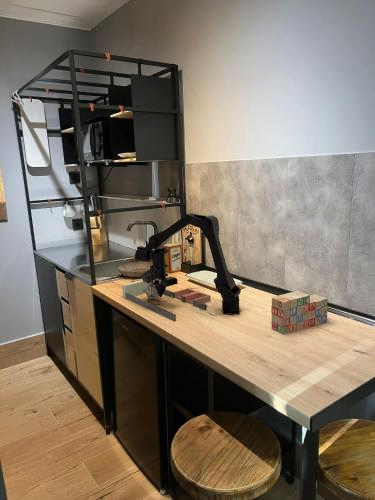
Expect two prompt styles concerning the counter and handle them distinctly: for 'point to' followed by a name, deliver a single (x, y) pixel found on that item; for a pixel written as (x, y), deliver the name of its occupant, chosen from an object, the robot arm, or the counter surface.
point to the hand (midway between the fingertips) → (160, 297)
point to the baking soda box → (173, 257)
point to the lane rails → (160, 310)
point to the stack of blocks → (297, 311)
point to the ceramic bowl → (134, 268)
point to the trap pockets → (192, 295)
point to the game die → (151, 291)
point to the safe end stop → (134, 288)
